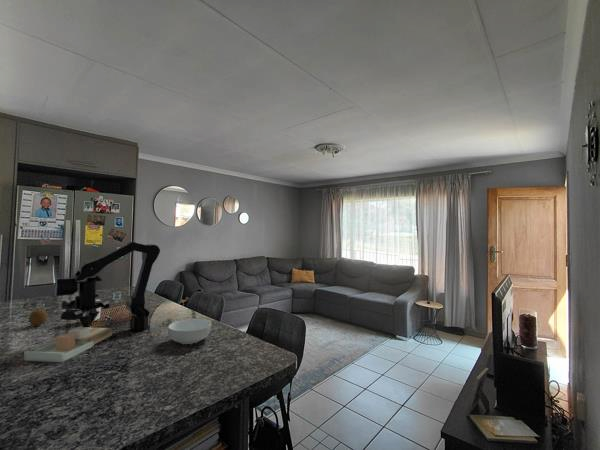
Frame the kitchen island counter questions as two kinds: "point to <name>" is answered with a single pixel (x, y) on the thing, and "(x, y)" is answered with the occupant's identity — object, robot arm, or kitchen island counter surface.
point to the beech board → (96, 335)
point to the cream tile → (80, 332)
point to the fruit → (37, 317)
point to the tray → (56, 352)
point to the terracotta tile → (65, 342)
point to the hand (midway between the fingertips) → (86, 330)
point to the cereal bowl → (189, 330)
